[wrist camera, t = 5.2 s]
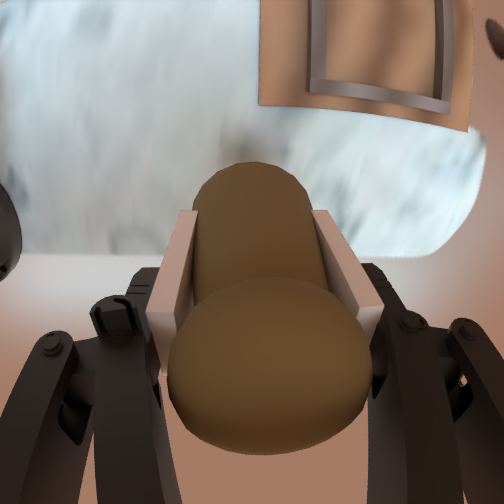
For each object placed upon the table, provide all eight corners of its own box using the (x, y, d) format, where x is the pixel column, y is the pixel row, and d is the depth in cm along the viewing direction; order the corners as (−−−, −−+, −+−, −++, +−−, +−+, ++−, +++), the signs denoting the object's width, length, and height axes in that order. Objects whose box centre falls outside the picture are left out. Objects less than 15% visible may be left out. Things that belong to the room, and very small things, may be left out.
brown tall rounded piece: (258, 291, 18) (279, 485, 8) (167, 230, 16) (100, 432, 6) (336, 214, 16) (445, 397, 6) (244, 135, 14) (267, 280, 4)
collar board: (258, 104, 25) (260, 106, 23) (261, -57, 17) (263, -68, 15) (462, 130, 25) (476, 135, 23) (465, -7, 17) (479, -10, 15)
